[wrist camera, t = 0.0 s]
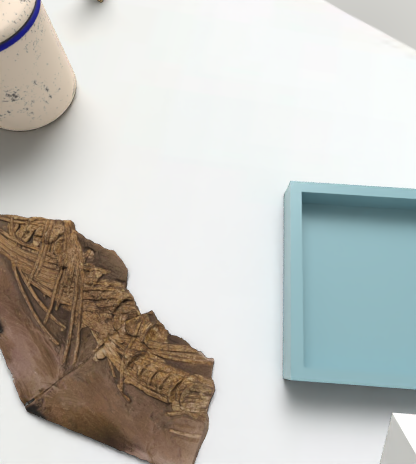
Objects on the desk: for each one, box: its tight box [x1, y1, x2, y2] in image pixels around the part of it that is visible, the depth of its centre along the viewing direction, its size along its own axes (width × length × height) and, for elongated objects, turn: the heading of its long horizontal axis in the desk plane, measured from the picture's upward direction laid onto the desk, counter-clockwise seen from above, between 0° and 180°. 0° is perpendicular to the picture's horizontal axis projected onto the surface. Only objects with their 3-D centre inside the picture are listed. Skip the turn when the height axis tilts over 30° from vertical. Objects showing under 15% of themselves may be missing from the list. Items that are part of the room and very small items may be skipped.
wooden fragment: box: [0, 215, 215, 464], centre depth 27 cm, size 26×11×1 cm, turn 44°
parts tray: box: [283, 181, 416, 389], centre depth 26 cm, size 14×14×2 cm
